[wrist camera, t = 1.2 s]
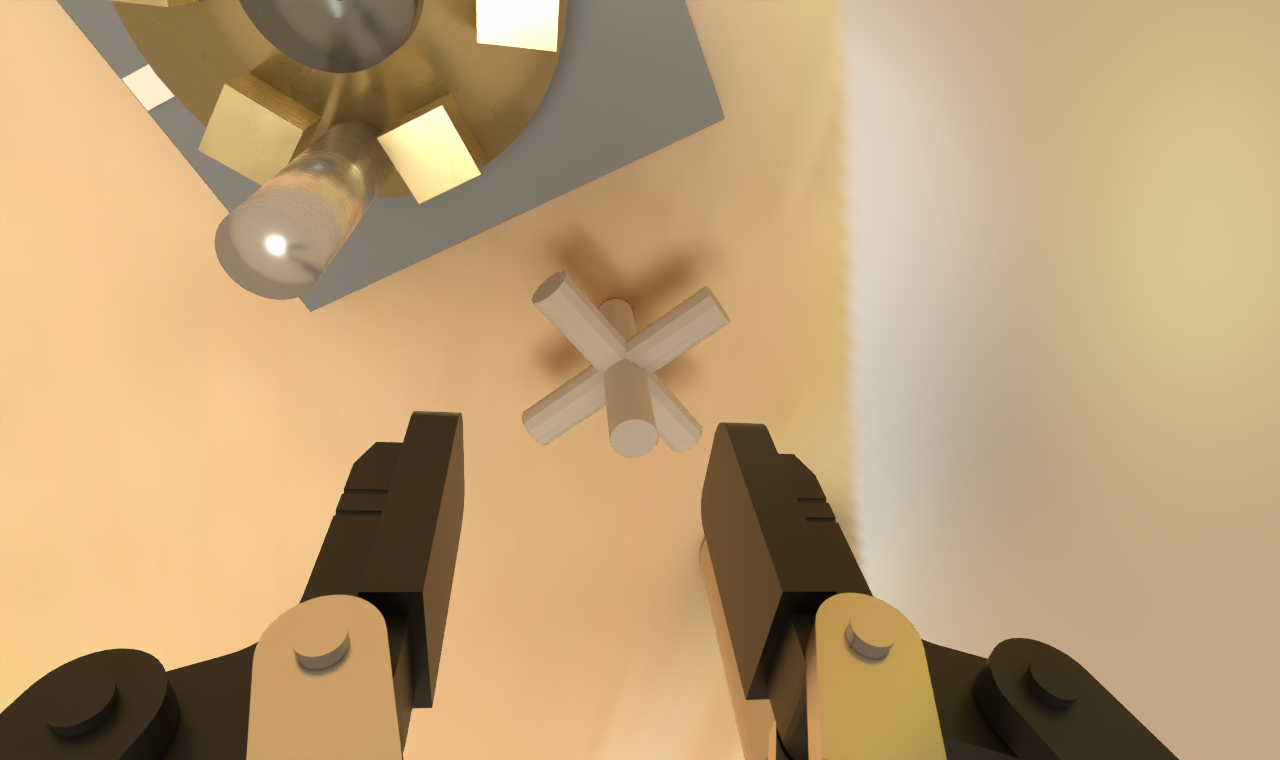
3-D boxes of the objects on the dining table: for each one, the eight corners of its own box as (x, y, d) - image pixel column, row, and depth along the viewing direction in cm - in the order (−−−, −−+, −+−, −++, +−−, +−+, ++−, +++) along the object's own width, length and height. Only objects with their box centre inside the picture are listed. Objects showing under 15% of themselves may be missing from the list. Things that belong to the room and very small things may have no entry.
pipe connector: (470, 301, 33) (440, 426, 24) (636, 174, 30) (666, 265, 22) (597, 428, 38) (609, 568, 29) (750, 327, 35) (810, 449, 27)
